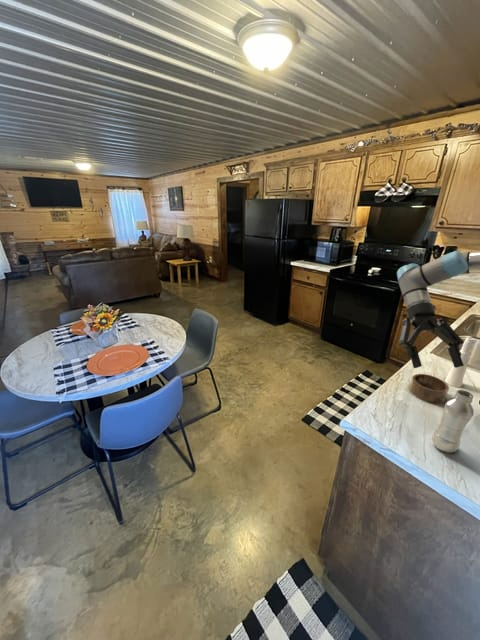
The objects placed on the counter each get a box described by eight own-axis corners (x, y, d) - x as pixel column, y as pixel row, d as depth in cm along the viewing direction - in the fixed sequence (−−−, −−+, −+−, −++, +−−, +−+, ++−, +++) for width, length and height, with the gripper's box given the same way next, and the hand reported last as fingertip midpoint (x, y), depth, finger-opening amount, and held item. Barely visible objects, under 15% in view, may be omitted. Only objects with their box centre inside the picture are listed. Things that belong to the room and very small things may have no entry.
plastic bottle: (425, 439, 83) (444, 387, 76) (445, 438, 84) (466, 386, 76) (440, 456, 77) (463, 401, 70) (462, 455, 78) (487, 400, 70)
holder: (444, 394, 104) (449, 381, 102) (442, 410, 96) (448, 395, 94) (410, 383, 111) (415, 370, 109) (406, 397, 103) (410, 383, 100)
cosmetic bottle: (442, 379, 114) (459, 334, 106) (460, 384, 112) (478, 337, 103) (444, 386, 110) (461, 339, 101) (462, 391, 107) (482, 343, 98)
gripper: (445, 310, 95) (466, 369, 86) (378, 310, 93) (393, 369, 85) (462, 301, 88) (487, 363, 79) (390, 301, 86) (408, 364, 78)
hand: (438, 367), depth 82 cm, fingers open, 13 cm apart
